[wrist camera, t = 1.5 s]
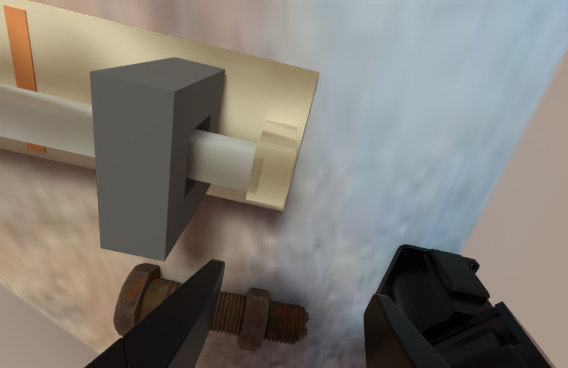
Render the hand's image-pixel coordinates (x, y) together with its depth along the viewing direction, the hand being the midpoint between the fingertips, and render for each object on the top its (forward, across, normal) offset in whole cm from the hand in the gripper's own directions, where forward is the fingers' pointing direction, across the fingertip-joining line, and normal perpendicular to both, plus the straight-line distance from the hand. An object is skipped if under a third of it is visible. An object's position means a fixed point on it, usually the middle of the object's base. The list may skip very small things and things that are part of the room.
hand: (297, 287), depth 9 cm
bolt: (+14, +3, +15) cm, 21 cm away
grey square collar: (+13, +7, 0) cm, 15 cm away
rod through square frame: (+13, +13, 0) cm, 18 cm away
